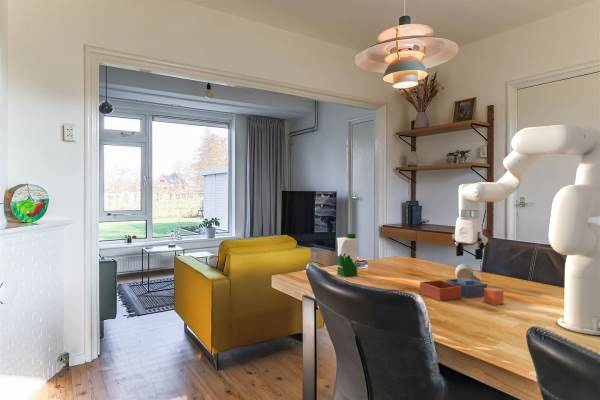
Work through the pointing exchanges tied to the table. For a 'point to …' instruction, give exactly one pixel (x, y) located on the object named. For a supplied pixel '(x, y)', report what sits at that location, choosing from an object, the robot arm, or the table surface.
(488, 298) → the terracotta block
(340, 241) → the milk carton
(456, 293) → the terracotta bin
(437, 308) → the table surface
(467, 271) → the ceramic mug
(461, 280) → the slate block
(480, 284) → the slate bin
